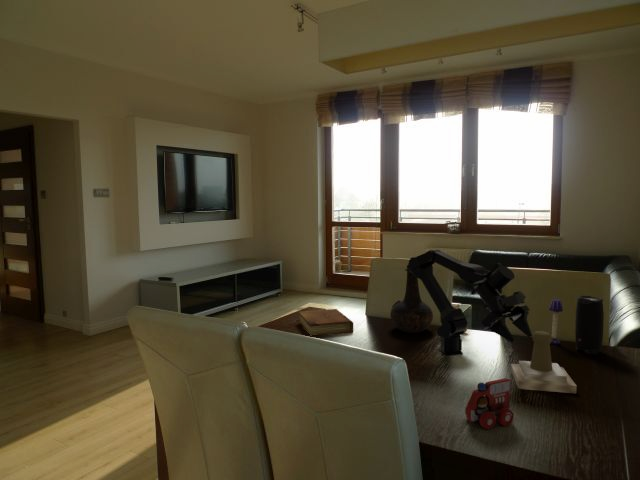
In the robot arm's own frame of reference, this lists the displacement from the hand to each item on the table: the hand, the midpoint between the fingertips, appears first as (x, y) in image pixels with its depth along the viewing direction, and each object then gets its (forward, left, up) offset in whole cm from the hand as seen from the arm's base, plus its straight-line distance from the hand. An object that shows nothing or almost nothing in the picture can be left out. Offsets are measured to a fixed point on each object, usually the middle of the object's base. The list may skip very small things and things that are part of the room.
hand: (522, 339), depth 141 cm
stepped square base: (+3, -6, -11) cm, 13 cm away
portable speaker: (+37, +15, -12) cm, 41 cm away
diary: (-49, +68, -12) cm, 85 cm away
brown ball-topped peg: (+3, -6, -8) cm, 10 cm away
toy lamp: (+32, +26, -12) cm, 43 cm away
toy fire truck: (-26, -26, -12) cm, 39 cm away
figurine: (+4, +47, -12) cm, 49 cm away
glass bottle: (-14, +56, -12) cm, 59 cm away
